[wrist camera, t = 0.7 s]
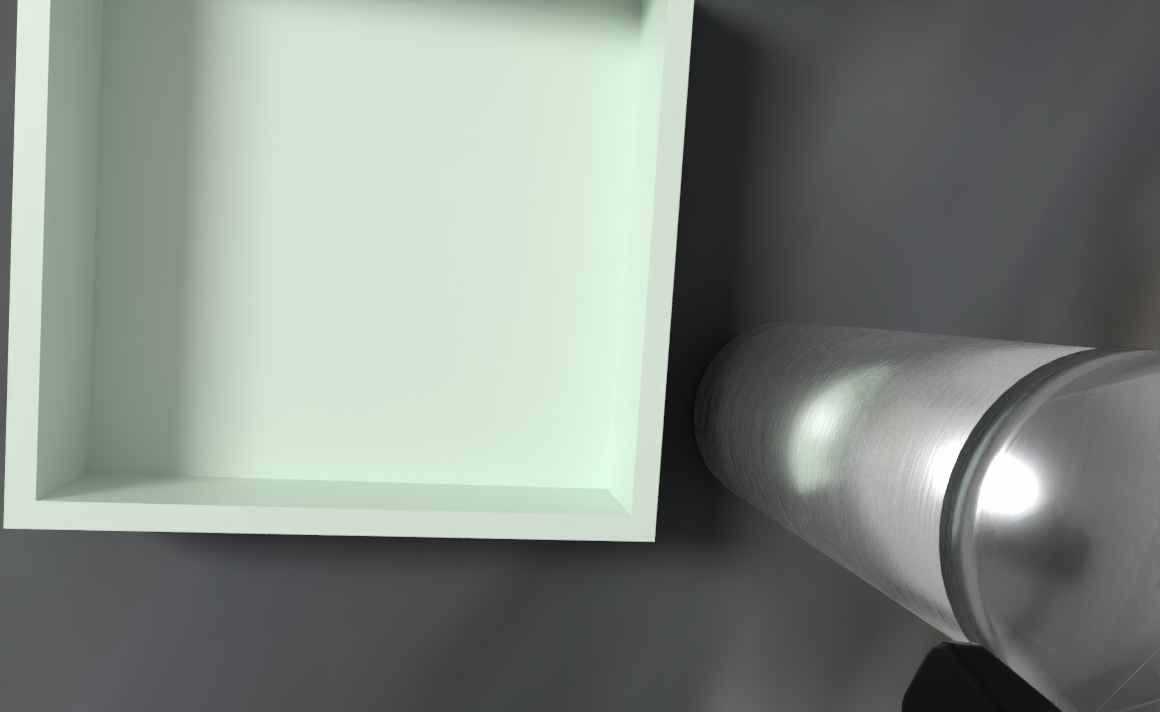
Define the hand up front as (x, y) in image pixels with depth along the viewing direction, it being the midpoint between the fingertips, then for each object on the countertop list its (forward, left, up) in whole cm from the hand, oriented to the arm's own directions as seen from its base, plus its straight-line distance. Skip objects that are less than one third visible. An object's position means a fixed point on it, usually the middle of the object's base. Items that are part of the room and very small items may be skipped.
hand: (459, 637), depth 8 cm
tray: (+3, +4, -16) cm, 17 cm away
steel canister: (+5, -8, -16) cm, 19 cm away
